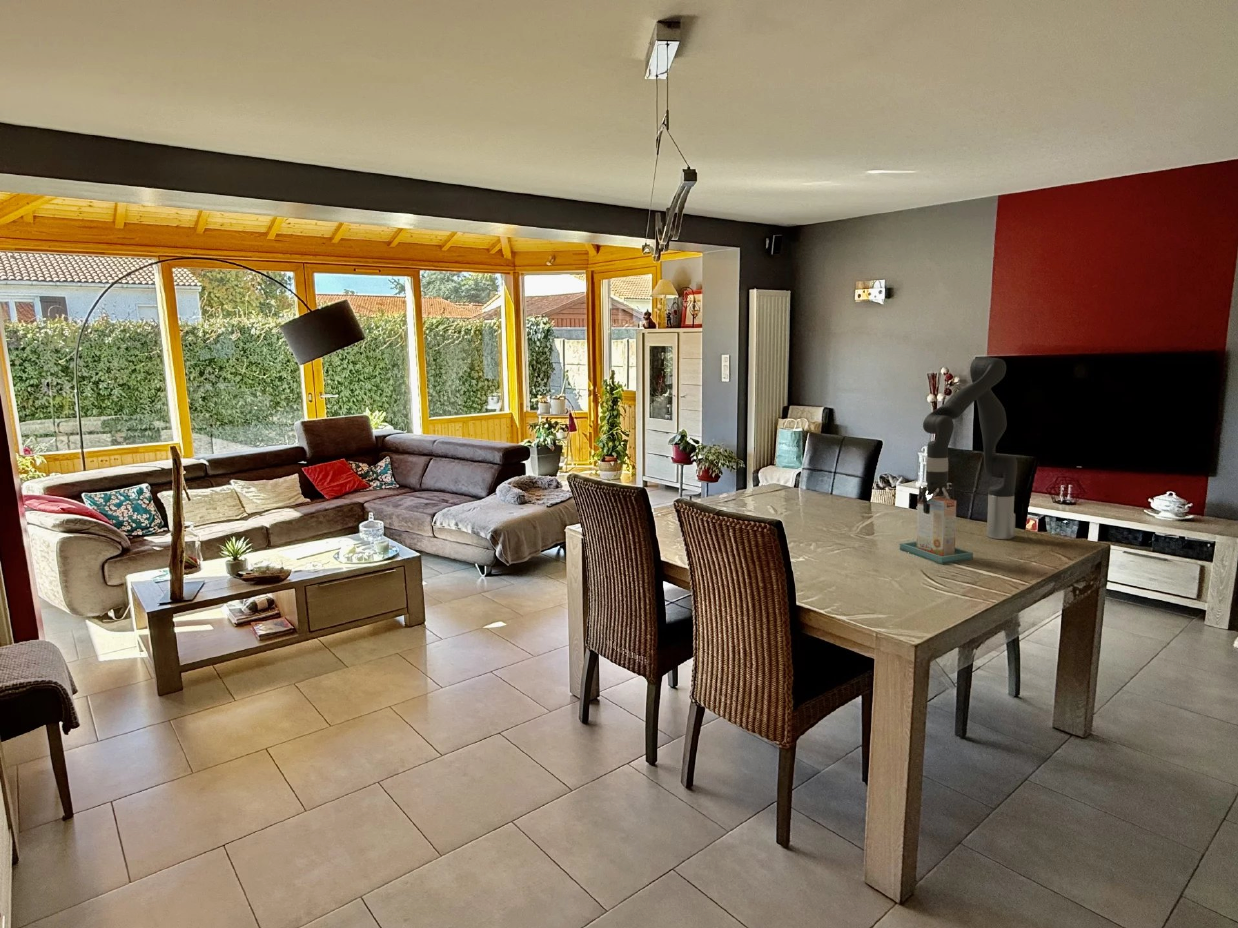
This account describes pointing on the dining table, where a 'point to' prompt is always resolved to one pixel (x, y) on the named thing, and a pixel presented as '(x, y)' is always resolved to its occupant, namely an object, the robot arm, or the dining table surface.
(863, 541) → the dining table surface
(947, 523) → the cracker box
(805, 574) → the dining table surface
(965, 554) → the teal tray
